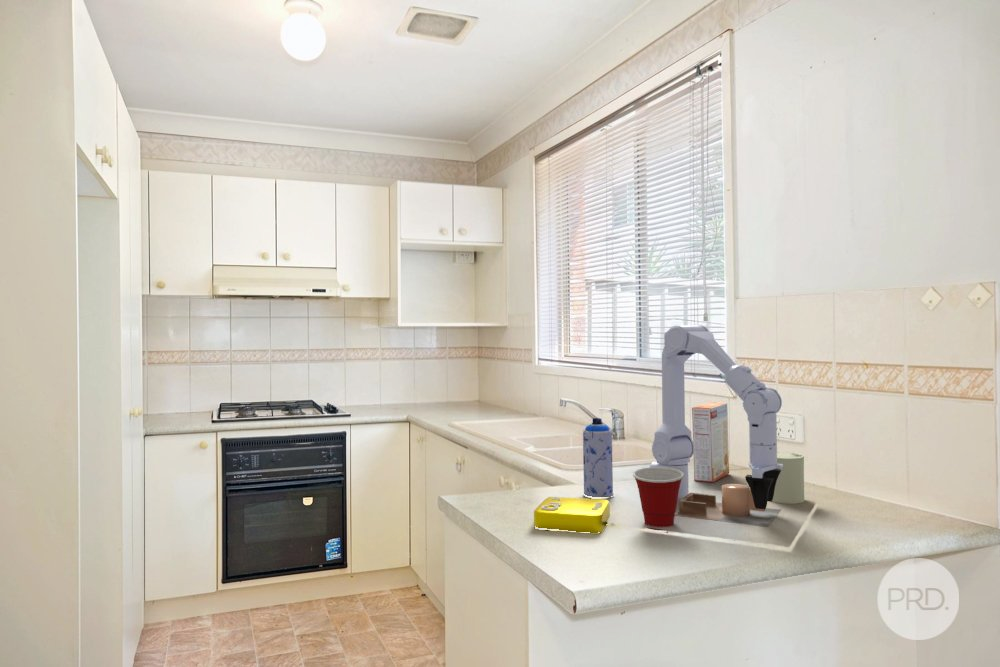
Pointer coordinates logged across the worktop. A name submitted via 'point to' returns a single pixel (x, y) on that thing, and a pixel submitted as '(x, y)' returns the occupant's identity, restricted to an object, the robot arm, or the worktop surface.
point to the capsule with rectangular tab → (737, 500)
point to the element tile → (572, 514)
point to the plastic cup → (658, 494)
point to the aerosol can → (597, 460)
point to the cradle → (720, 511)
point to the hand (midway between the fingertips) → (764, 504)
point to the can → (790, 479)
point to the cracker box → (710, 441)
